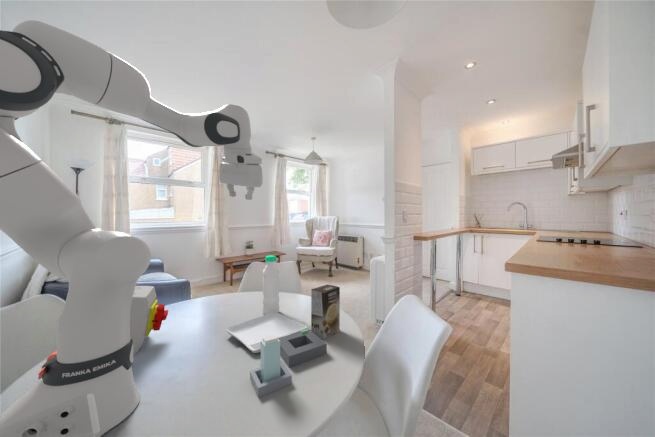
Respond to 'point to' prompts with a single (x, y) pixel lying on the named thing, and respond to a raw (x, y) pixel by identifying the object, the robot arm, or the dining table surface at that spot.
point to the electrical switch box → (145, 315)
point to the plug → (270, 358)
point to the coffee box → (325, 310)
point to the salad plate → (264, 329)
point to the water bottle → (270, 286)
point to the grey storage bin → (272, 384)
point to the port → (304, 353)
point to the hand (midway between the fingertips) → (240, 197)
